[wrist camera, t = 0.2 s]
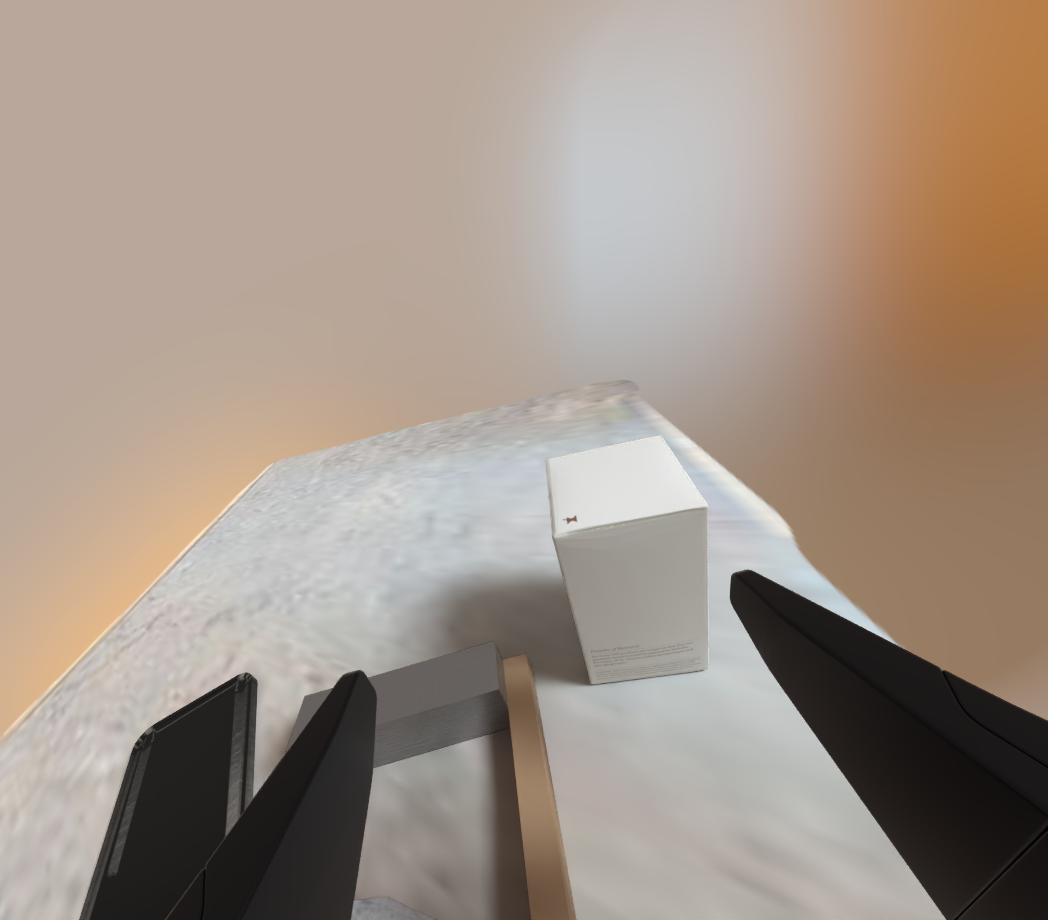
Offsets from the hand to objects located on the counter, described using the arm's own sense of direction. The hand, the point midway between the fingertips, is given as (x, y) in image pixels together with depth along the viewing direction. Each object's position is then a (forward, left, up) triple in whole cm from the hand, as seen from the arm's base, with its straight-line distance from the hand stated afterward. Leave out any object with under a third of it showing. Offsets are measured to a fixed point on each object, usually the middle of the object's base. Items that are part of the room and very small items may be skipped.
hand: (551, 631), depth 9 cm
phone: (+8, +25, -17) cm, 31 cm away
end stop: (+8, +10, -16) cm, 21 cm away
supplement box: (+11, -5, -17) cm, 20 cm away
